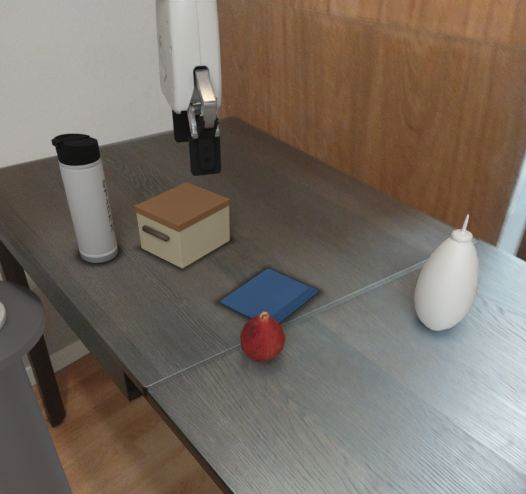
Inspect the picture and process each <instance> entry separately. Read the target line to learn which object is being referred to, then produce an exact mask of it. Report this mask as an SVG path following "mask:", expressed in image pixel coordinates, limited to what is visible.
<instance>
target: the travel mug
mask: <svg viewBox="0 0 526 494" xmlns="http://www.w3.org/2000/svg"><path fill="white" fill-rule="evenodd" d="M50 141H51V145H52V146H53V147H54V148H55V152H56V155H57V156H56V158H57V162H58V167H59V171H60V176H61V180H62V183H63V188H64V192H65V196H66V200H67V205H68V209H69V213H70V217H71V221H72V225H73V231H74V234H75V239H76V242H77V247H78V251H79V256H80V257H81V259H82V260H83V261H85V262H87V263H91V264H102V263H106V262H110V261H111V260H113V259H115V258H116V256H118V253H119V247H118V243H117V237H116V232H115V225H114V221H113V213H112V209H111V204H110V199H109V193H108V187H107V182H106V176H105V171H104V165H103V160H102V154H101V152H100V146H99V140H98V139H97V138H94V137H92V136H91V135H89V134H85V133H62V134H58V135H55V136H54V137H53V138H52V139H51V140H50Z"/></svg>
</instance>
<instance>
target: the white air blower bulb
mask: <svg viewBox="0 0 526 494" xmlns="http://www.w3.org/2000/svg"><path fill="white" fill-rule="evenodd" d="M469 218H470V214H468V213H467V215H466V216H465V219H464V222H463V225H462V228H458V229H454V230H452V231H451V234H450V236H449V237H447V238H446V239H445V240H443V241H442V242H441V243H440V244H438V246H437V247H436V248H435V249H434V251H432V253H431V254H430V255H429V257H428V258H427V260H426V261H425V263H424V265H423V266H422V268H421V271H420V273H419V275H418V278H417V281H416V285H415V289H414V298H413V300H414V308H415V313H416V315H417V317H418V319H419V320H420V322H421V323H422V325H424V326H425V327H426V328H428V329H430V330H431V331H435V332H436V331H437V332H440V331H441V332H442V331H444V330H449V329H451V328H453V327H455V326H456V325H458V324H459V323H460V322H461V321H462V320H463V319H464V318H465V317H466V315H467V314H468V312H469V311H470V310H471V308H472V306H473V304H474V301H475V298H476V296H477V292H478V288H479V281H480V263H479V256H478V252H477V249H476V246H475V244H474V242H473V238H474V235H473V233H472V232H471V231H469V230H467V228H468V223H469Z"/></svg>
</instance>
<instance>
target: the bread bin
mask: <svg viewBox="0 0 526 494" xmlns="http://www.w3.org/2000/svg"><path fill="white" fill-rule="evenodd" d="M230 205H231V200H230V198H229V197H226V196H223V195H221V194H218V193H216V192H213V191H210V190H208V189H205V188H203V187H200V186H198V185H195V184H194V183H193V184H192V183H190V182H188V181H186V182H184V183H181V184H179V185H177V186H175V187H173V188H171V189H168V190H165V191H164V192H162V193H160V194H157V195H155V196H153V197H151V198H149V199H146V200H144V201H142V202H140V203H138V204H135V205H134V212H135V213H136V220H137V225H138V226H137V227H138V234H139V241H140V248H141V249H142V250H144V251H146V252H148V253H150V254H152V255H154V256H156V257H159V258H160V259H163V260H164V261H167V262H168V263H171V264H172V265H174V266H176V267H178V268H180V269H184V268H186V267H187V266H189V265H191V264H193V263H195V262H196V261H198V260H199V259H201V258H203V257H205V256H206V255H208V254H209V253H211V252H213V251H215V250H216V249H219V248H220V247H221V246H223V245H225V244H227V243H228V242H230V241H231V239H230V238H231V231H230V230H231V229H230V228H231V227H230V226H231V225H230Z"/></svg>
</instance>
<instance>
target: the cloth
mask: <svg viewBox="0 0 526 494" xmlns="http://www.w3.org/2000/svg"><path fill="white" fill-rule="evenodd" d="M318 293H319V290H318V289H317V288H315V287H313V286H309V285H306V284H305V283H302V282H301V281H297V280H295V279H293V278H291V277H289V276H288V275H287V276H286V275H284V274H282V273H280V272H278V271H275V270H273V269H271V268H268V267H267V268H266V269H264V270H263V271H262V272H261V273H259V274H257V275H256V276H254V277H253V278H252V279H250V280H248V281H246V282H245V283H244V284H242V285H241V286H239V287H238V288H236V289H235V290H234V291H232V292H231V293H230V294H228V295H226V296H225V297H223V298H222V299H221V300H220V301H219V303H220V304H222V305H223V306H226V307H228V308H230V309H232V310H233V311H235V312H237V313H239V314H241V315H243V316H245V317H247V318H249V319H252V318H253V317H255V316H259V315H260V314H261V313H262V312H263V311H264V312H268V314H269V317H271V318H273V319H275V320H276V321H277V322H278V323H279V324H280V323H281V322H282V321H284V320H285V319H287V317H289V316H290V315H291V314H292V313H294V312H295V311H296V310H298V309H299V308H300V307H301V306H302V305H304V304H305V303H306V302H308V301H309V300H310V299H311V298H313V297H314V296H315V295H316V294H318Z"/></svg>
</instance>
